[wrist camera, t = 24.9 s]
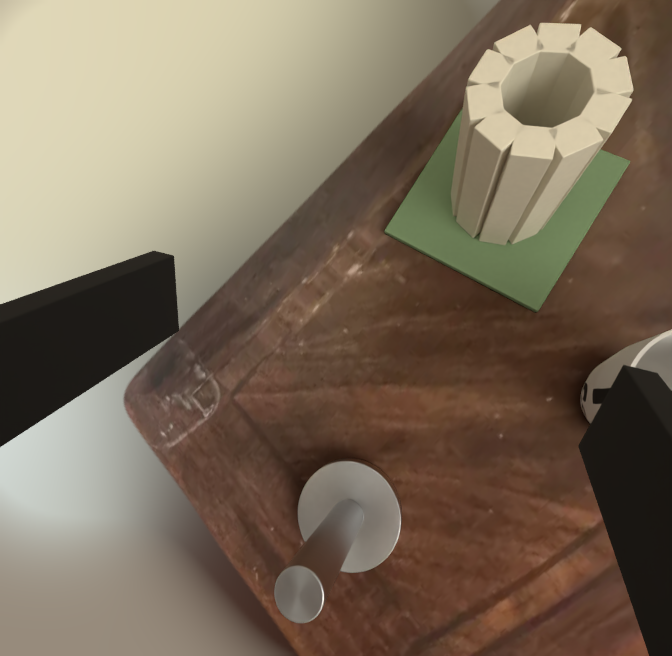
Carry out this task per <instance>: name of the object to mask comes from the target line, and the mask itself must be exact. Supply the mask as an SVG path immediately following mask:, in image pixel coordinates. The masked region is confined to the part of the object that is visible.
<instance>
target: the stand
mask: <svg viewBox="0 0 672 656" xmlns="http://www.w3.org/2000/svg"><path fill="white" fill-rule="evenodd" d="M401 522H402V508H401V502H400V498H399V495H398V493H397V490H396V488H395V486H394V485H393V483H392V482H391V480H390V479H389V477H388V476H387V475H386V474H385V473H384V472H383V471H382V470H380V469H379V468H378V467H376V466H375V465H373V464H371V463H369V462H367V461H364V460H361V459H355V458H343V459H338V460H334V461H332V462H330V463H328V464H326V465H324V466H323V467H321V468H320V469H319V470H318V471H316V472H315V473H314V474H313V475H312V476H311V477H310V478H309V480H308V481H307V483H306V484H305V486H304V488H303V490H302V493H301V495H300V499H299V504H298V523H299V527H300V531H301V534H302V537H303V539H304V541H305V544H304V545H303V546H302V547H301V549H300V550H299V551H298V552H297V554H296V555H295V556H294V557H293V559H292V560H291V561H290V562H289V564H288V565H287V566H286V567H285V569H284V570H283V571H282V572H281V574H280V575H279V576H278V578H277V581H276V584H275V589H274V594H275V601H276V604H277V607H278V609H279V610H280V612H281V613H282V614H283V615H284V616H285V617H286V618H287V619H289V620H290V621H292V622H295V623H307V622H310V621H312V620H313V619H315V618H316V617H317V616H318V615H319V613H320V612H321V610H322V608H323V606H324V604H325V602H326V600H327V597H328V595H329V593H330V591H331V589H332V587H333V585H334V583H335V580H336V578H337V576H338V574H339V572H340V571H342V572H348V573H357V572H363V571H367V570H370V569H372V568H374V567H376V566H378V565H379V564H380V563H382V562H383V561H384V560H385V559H386V558H387V557H388V556H389V555H390V553H391V552H392V551H393V549H394V547H395V545H396V543H397V540H398V538H399V534H400V529H401Z"/></svg>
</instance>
